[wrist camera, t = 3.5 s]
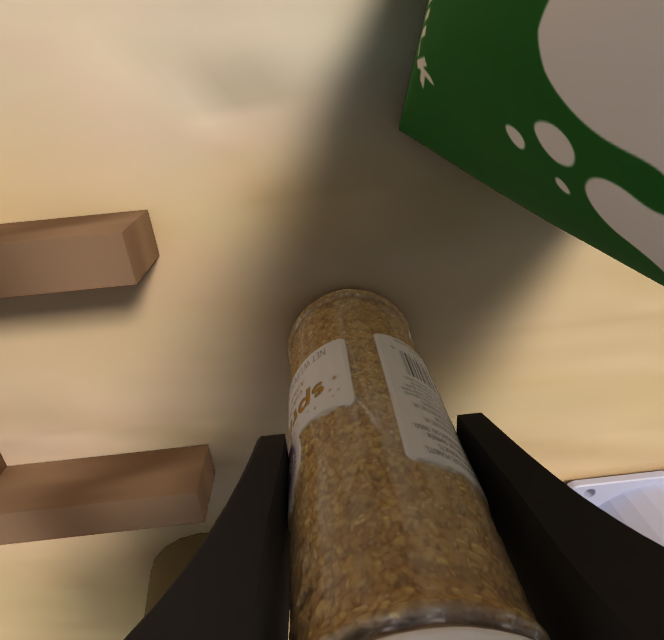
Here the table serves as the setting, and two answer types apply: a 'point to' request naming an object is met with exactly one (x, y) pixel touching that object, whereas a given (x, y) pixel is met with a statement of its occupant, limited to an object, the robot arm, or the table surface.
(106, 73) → the table surface
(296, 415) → the sprinkles bottle
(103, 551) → the table surface
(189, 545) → the olive bulb-ended cylinder
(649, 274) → the milk carton
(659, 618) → the robot arm
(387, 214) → the table surface
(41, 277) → the walnut holder
